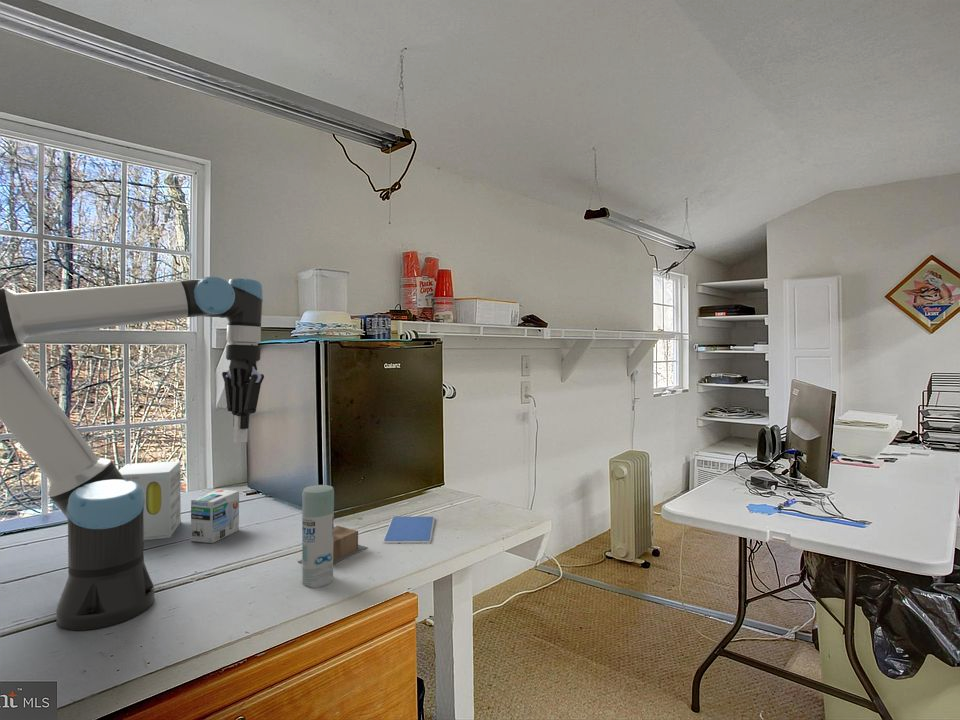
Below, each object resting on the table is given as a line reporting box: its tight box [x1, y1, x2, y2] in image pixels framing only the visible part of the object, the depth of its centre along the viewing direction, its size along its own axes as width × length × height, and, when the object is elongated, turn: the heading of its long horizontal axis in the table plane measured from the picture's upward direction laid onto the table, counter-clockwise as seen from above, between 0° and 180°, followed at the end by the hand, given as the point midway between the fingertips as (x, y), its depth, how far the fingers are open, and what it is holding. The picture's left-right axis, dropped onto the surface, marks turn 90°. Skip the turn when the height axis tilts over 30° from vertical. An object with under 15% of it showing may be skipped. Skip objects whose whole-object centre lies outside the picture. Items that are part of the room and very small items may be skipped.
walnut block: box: [333, 525, 359, 561], centre depth 127 cm, size 7×4×11 cm
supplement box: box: [118, 460, 182, 541], centre depth 139 cm, size 13×13×18 cm
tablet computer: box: [382, 516, 436, 545], centre depth 144 cm, size 19×13×1 cm, turn 2°
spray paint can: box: [301, 484, 335, 589], centre depth 112 cm, size 6×6×20 cm
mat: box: [297, 544, 369, 566], centre depth 126 cm, size 15×8×1 cm, turn 150°
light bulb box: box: [190, 489, 240, 544], centre depth 138 cm, size 11×7×11 cm, turn 169°
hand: (240, 442), depth 126 cm, fingers closed
